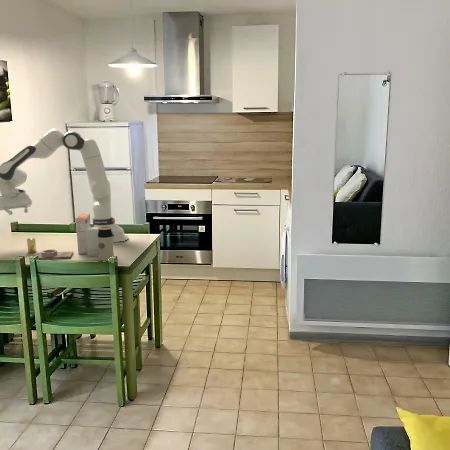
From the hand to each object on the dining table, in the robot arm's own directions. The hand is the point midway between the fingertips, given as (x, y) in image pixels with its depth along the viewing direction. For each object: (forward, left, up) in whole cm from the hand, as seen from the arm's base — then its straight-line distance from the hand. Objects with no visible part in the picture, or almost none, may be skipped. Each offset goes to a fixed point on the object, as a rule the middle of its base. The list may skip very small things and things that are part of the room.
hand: (19, 213), depth 302 cm
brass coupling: (-8, +10, -21) cm, 25 cm away
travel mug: (-52, +31, -21) cm, 64 cm away
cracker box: (-38, +11, -22) cm, 45 cm away
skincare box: (-45, +20, -21) cm, 53 cm away
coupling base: (-22, +21, -21) cm, 37 cm away
